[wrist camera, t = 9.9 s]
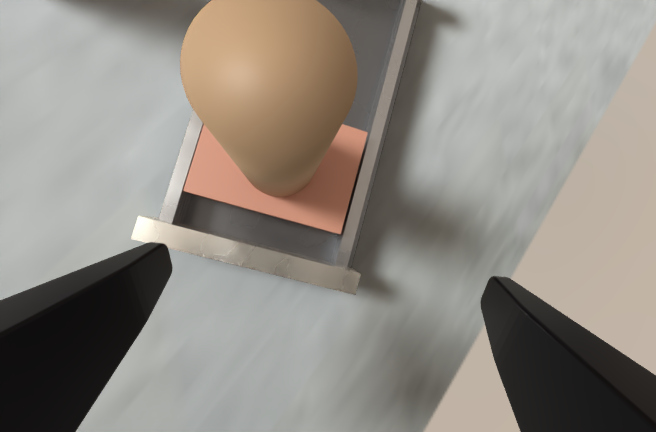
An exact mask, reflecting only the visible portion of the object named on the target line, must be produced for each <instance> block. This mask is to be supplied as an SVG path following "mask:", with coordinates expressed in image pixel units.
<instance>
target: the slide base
mask: <svg viewBox="0 0 656 432" xmlns="http://www.w3.org/2000/svg"><path fill="white" fill-rule="evenodd" d="M317 1H318V2H319V3H321V4H322V5H323V6H324V7H326V8H327V9H328V10H329V11H330V12H331V13H332V14H333V15H334V16H335V18H336V19H337V20H338V21H339V22H340V24H341V25H342V27H343V28H344V30H345V32H346V33H347V35H348V37H349V39H350V42H351V44H352V47H353V50H354V53H355V57H356V62H357V73H358V78H357V89H356V94H355V98H354V101H353V104H352V106H351V109H350V110H349V112H348V114H347V116H346V118H345V120H344V122H343V124H344V125H347V126H350V127H353V128H356V129H359V130H362V131H365V132H368V134H367V137H366V141H365V145H364V149H363V152H362V156H361V160H360V163H359V167H358V171H357V175H356V178H355V182H354V186H353V190H352V193H351V197H350V201H349V205H348V208H347V212H346V216H345V219H344V223H343V227H342V231H341V234H335V233H331V232H327V231H324V230H320V229H317V228H313V227H309V226H306V225H302V224H298V223H295V222H291V221H288V220H284V219H280V218H277V217H273V216H269V215H266V214H262V213H258V212H255V211H251V210H248V209H244V208H240V207H237V206H233V205H229V204H226V203H222V202H219V201H215V200H211V199H208V198H204V197H200V196H197V195H194V194H191V193H188V192H185V191H183V190H184V186H185V183H186V180H187V177H188V173H189V170H190V167H191V164H192V161H193V157H194V154H195V151H196V148H197V144H198V141H199V138H200V135H201V132H202V128H203V125H204V123H203V122H202V121H201V120H200V118H199V117H198V116H197V114H196V113H195V111H194V109H193V111H192V114H191V117H190V120H189V123H188V127H187V130H186V133H185V136H184V139H183V142H182V146H181V149H180V152H179V155H178V158H177V162H176V165H175V168H174V171H173V174H172V177H171V181H170V184H169V187H168V190H167V193H166V196H165V200H164V203H163V206H162V209H161V212H160V216H159V217H147V216H138V218H137V221H136V225H135V228H134V231H133V234H132V237H131V239H134V240H138V241H142V242H146V243H149V242H157V243H164V244H166V245H167V247H168V248H170V249H174V250H178V251H182V252H186V253H190V254H194V255H198V256H202V257H206V258H210V259H214V260H218V261H222V262H226V263H230V264H234V265H238V266H242V267H246V268H250V269H254V270H258V271H262V272H266V273H270V274H274V275H278V276H282V277H286V278H290V279H294V280H298V281H302V282H306V283H310V284H314V285H318V286H322V287H326V288H330V289H334V290H338V291H342V292H346V293H350V294H354V295H356V291H357V287H358V283H359V280H360V276H361V274H360V273H359V272H357V271H356V270H354V269H352V268H351V266H352V263H353V259H354V255H355V251H356V247H357V244H358V240H359V236H360V232H361V228H362V225H363V221H364V217H365V213H366V209H367V206H368V202H369V198H370V194H371V190H372V187H373V183H374V179H375V175H376V171H377V168H378V164H379V160H380V156H381V152H382V149H383V145H384V141H385V137H386V133H387V130H388V126H389V122H390V118H391V114H392V111H393V107H394V103H395V99H396V95H397V92H398V88H399V84H400V80H401V76H402V73H403V69H404V65H405V61H406V57H407V54H408V50H409V46H410V42H411V38H412V35H413V31H414V27H415V23H416V19H417V16H418V12H419V8H420V4H421V2H422V0H317Z"/></svg>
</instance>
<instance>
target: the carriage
mask: <svg viewBox="0 0 656 432" xmlns="http://www.w3.org/2000/svg"><path fill="white" fill-rule="evenodd" d="M180 69H181V78H182V83H183V87H184V90H185V93H186V96H187V98H188V100H189V102H190V104H191V106H192V108H193V109H194V111H195V113H196V114H197V116H198V117H199V118H200V120H201V121H202V122H203V123H204V125H203V128H202V132H201V135H200V138H199V141H198V144H197V148H196V151H195V154H194V157H193V161H192V164H191V167H190V170H189V173H188V177H187V180H186V183H185V186H184V190H183V191H185V192H188V193H191V194H194V195H197V196H200V197H204V198H208V199H211V200H215V201H219V202H222V203H226V204H229V205H233V206H237V207H240V208H244V209H248V210H251V211H255V212H258V213H262V214H266V215H269V216H273V217H277V218H280V219H284V220H288V221H291V222H295V223H298V224H302V225H306V226H309V227H313V228H317V229H320V230H324V231H327V232H331V233H335V234H341V231H342V227H343V223H344V219H345V216H346V212H347V208H348V205H349V201H350V197H351V193H352V190H353V186H354V182H355V178H356V175H357V171H358V167H359V163H360V160H361V156H362V152H363V149H364V145H365V141H366V137H367V134H368V132H365V131H362V130H359V129H356V128H353V127H350V126H347V125H344V124H343V122H344V120H345V118H346V116H347V114H348V112H349V110H350V109H351V106H352V104H353V101H354V98H355V94H356V89H357V78H358V73H357V62H356V57H355V53H354V50H353V47H352V44H351V42H350V39H349V37H348V35H347V33H346V32H345V30H344V28H343V27H342V25H341V24H340V22H339V21H338V20H337V19H336V18H335V16H334V15H333V14H332V13H331V12H330V11H329V10H328V9H327V8H326V7H324V6H323V5H322V4H321V3H319V2H318V1H317V0H211V1H210V2H209V3H208V4H207V5H206V6H204V7H203V8H202V9H201V10H200V12H199V13H198V14H197V15H196V17H195V18H194V19H193V21H192V23H191V24H190V26H189V28H188V30H187V33H186V35H185V38H184V41H183V45H182V49H181V58H180Z"/></svg>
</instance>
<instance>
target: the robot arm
mask: <svg viewBox="0 0 656 432" xmlns="http://www.w3.org/2000/svg"><path fill="white" fill-rule="evenodd" d="M171 273H172V263H171V259H170V255H169V251H168V247H167V245H166V244H164V243H157V242H149V243H146V244H144V245H141V246H139V247H136V248H133V249H131V250H128V251H126V252H123V253H121V254H118V255H115V256H113V257H110V258H108V259H105V260H103V261H100V262H98V263H95V264H92V265H90V266H87V267H85V268H82V269H80V270H77V271H74V272H72V273H69V274H67V275H64V276H62V277H59V278H57V279H54V280H51V281H49V282H46V283H44V284H41V285H39V286H36V287H34V288H31V289H28V290H26V291H23V292H21V293H18V294H16V295H13V296H10V297H8V298H5V299H3V300H0V432H76V430H77V429H78V427H79V426H80V424H81V422H82V421H83V419H84V418H85V416H86V415H87V413H88V412H89V410H90V409H91V407H92V406H93V404H94V402H95V401H96V399H97V398H98V396H99V395H100V393H101V392H102V390H103V389H104V387H105V386H106V384H107V382H108V381H109V379H110V378H111V376H112V375H113V373H114V372H115V370H116V369H117V367H118V366H119V364H120V362H121V361H122V359H123V358H124V356H125V355H126V353H127V352H128V350H129V349H130V347H131V346H132V344H133V342H134V341H135V339H136V338H137V336H138V335H139V333H140V332H141V330H142V328H143V327H144V325H145V324H146V322H147V320H148V318H149V317H150V315H151V313H152V311H153V309H154V307H155V305H156V303H157V301H158V299H159V297H160V295H161V293H162V291H163V290H164V288H165V286H166V284H167V282H168V280H169V278H170V276H171ZM481 310H482V314H483V318H484V321H485V325H486V329H487V333H488V337H489V341H490V345H491V349H492V353H493V357H494V360H495V363H496V366H497V369H498V371H499V374H500V377H501V380H502V383H503V385H504V388H505V391H506V393H507V396H508V399H509V401H510V404H511V407H512V410H513V412H514V415H515V418H516V420H517V423H518V426H519V428H520V431H521V432H656V375H654V374H653V373H651V372H650V371H648V370H647V369H645V368H644V367H642V366H641V365H639V364H638V363H636V362H635V361H633V360H632V359H630V358H629V357H627V356H626V355H624V354H622V353H621V352H620V351H618V350H617V349H615V348H613V347H612V346H611V345H609V344H608V343H606V342H604V341H603V340H602V339H600V338H599V337H597V336H596V335H594V334H592V333H591V332H590V331H588V330H587V329H585V328H584V327H582V326H581V325H579V324H578V323H576V322H574V321H573V320H571V319H570V318H568V317H567V316H565V315H564V314H562V313H561V312H559V311H558V310H556V309H555V308H553V307H552V306H550V305H549V304H547V303H546V302H544V301H543V300H541V299H540V298H538V297H537V296H535V295H534V294H532V293H531V292H529V291H528V290H526V289H525V288H523V287H522V286H520V285H519V284H517V283H516V282H514V281H513V280H511V279H510V278H507V277H499V276H493V277H491V278H490V279H489V281H488V283H487V286H486V288H485V290H484V293H483V295H482V298H481Z"/></svg>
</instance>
